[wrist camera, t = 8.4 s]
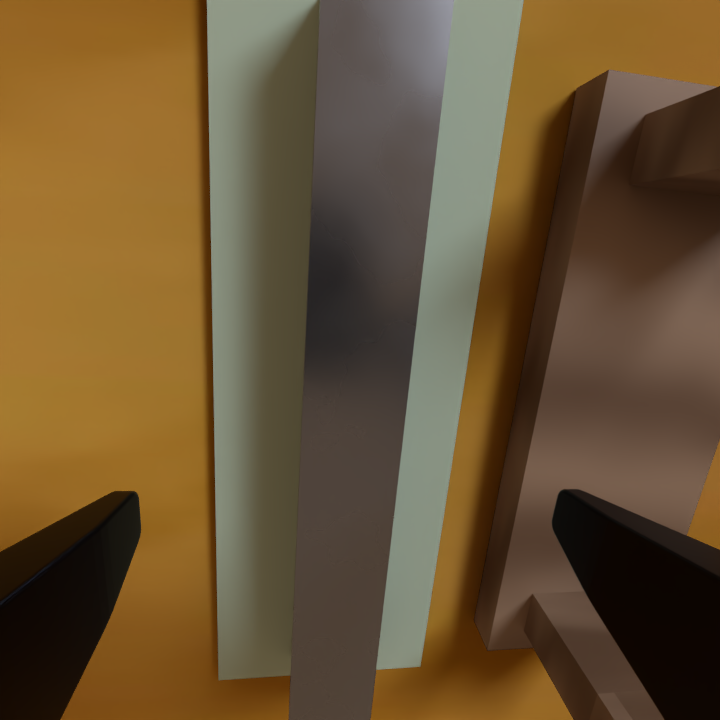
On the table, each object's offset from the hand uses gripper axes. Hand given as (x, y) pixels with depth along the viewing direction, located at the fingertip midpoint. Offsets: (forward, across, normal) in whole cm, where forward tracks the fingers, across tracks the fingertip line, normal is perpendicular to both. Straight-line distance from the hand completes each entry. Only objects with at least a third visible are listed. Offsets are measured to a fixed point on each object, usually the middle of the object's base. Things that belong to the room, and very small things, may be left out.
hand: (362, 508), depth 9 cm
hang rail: (+6, 0, 0) cm, 6 cm away
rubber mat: (+7, 0, 0) cm, 7 cm away
